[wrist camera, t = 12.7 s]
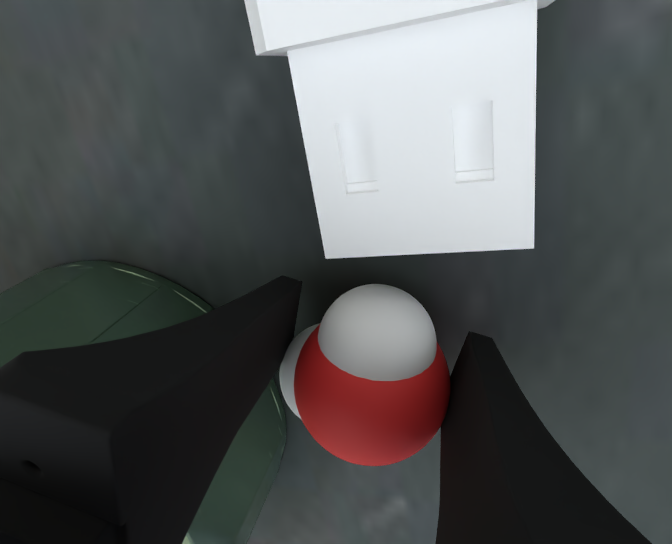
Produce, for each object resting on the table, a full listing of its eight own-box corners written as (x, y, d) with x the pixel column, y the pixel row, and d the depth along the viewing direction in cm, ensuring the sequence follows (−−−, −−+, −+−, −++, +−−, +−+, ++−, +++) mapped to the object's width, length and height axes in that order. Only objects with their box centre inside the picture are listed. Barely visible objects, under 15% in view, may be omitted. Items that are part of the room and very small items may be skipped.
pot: (307, 319, 14) (220, 471, 9) (270, 529, 21) (206, 687, 16) (-11, 220, 16) (-229, 304, 11) (44, 441, 22) (-79, 558, 17)
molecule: (438, 401, 15) (430, 522, 11) (299, 369, 15) (248, 471, 12) (471, 268, 12) (474, 367, 8) (303, 239, 13) (241, 318, 9)
